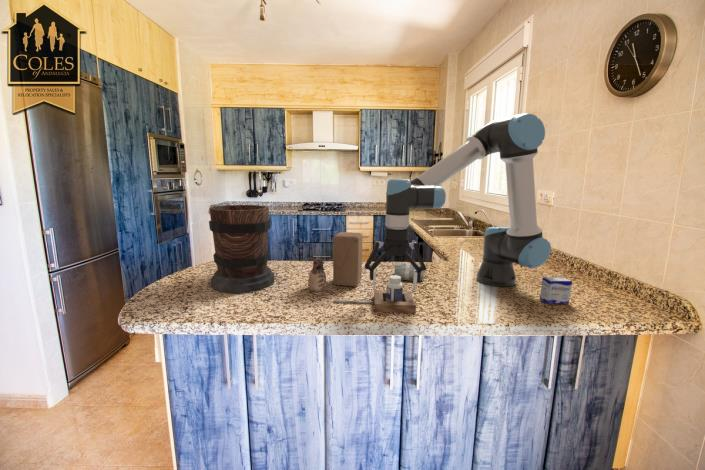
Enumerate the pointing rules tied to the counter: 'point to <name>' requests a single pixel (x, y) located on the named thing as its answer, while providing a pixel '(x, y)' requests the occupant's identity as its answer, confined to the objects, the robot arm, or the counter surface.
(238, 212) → the wooden barrel
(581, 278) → the counter surface
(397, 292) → the pill bottle
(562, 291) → the box
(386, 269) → the counter surface
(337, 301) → the brown square frame
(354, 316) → the counter surface
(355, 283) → the wooden block
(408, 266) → the decorative stone
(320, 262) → the figurine
